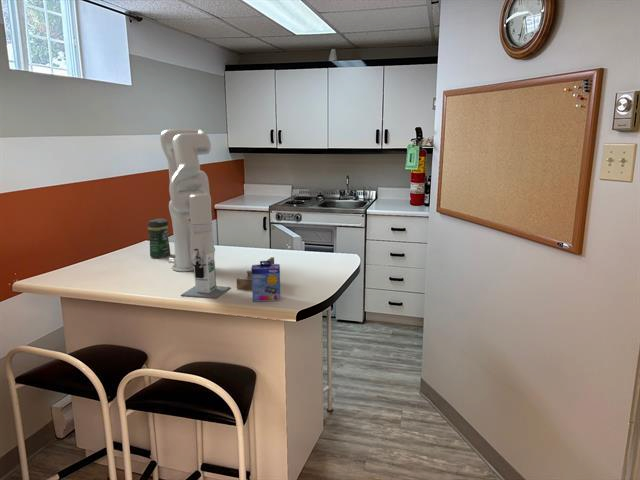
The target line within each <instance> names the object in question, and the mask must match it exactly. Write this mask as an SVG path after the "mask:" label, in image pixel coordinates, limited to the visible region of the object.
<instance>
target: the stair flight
mask: <svg viewBox="0 0 640 480" xmlns="http://www.w3.org/2000/svg"><path fill="white" fill-rule="evenodd" d="M266 261H270V262H271V264H275V257H274V256H273V257H270V258H269V259H267V260H266ZM262 264H269V263H267V262H264V263H262ZM236 290H242V291H243V290H245V291H252V272H251V270H247V271H246V278H243V277H242V278H240V277H237V278H236Z"/></svg>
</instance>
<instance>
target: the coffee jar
mask: <svg viewBox="0 0 640 480" xmlns="http://www.w3.org/2000/svg"><path fill="white" fill-rule="evenodd" d="M168 223H169V222H168V219H166V218H161V217H160V218H155V219H151V220H149V221H148V222H147V230H148V235H149V256H150V258H153V259H161V258H162V257H163V258H165V256H166V257H168V256H170V255H171V248H170V239H169V234H168V233H169V231H168V230H169V224H168Z"/></svg>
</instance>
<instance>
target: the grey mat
mask: <svg viewBox="0 0 640 480" xmlns="http://www.w3.org/2000/svg"><path fill="white" fill-rule="evenodd" d="M216 287H217V288H216V289H215V290H213V291H212V292H211V293H200V292H196V286H195V285H194V286H193V287H191V288H190V289H188V290H186V291H185V292H183V293H181V294H180V296H181V297H191V298H201V299H202V298H204V299H216V300H217V299H218V298H220V296H222V295H223V294H225V293H226V292H227V291H229V290H230V289H231V286H224V285H223V286H221V285H216Z"/></svg>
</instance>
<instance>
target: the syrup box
mask: <svg viewBox="0 0 640 480" xmlns="http://www.w3.org/2000/svg"><path fill="white" fill-rule="evenodd" d="M214 254H215V253H214V252H211V253H209V254H207V255H206V259H205V260H203V265H202V267H203V269H204V278H196V277H195V276H194V283H195V285H194V286H196V292H200V293H211V292H212V291H213V290H215V289H216V288H217V287H216V286H217V277H216V275H217V274H216V264H215V263H216V262H215V255H214ZM198 259H201V258H198ZM198 262H199V264H200V261H198ZM193 273H194V275H195V268H194V270H193Z"/></svg>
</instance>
